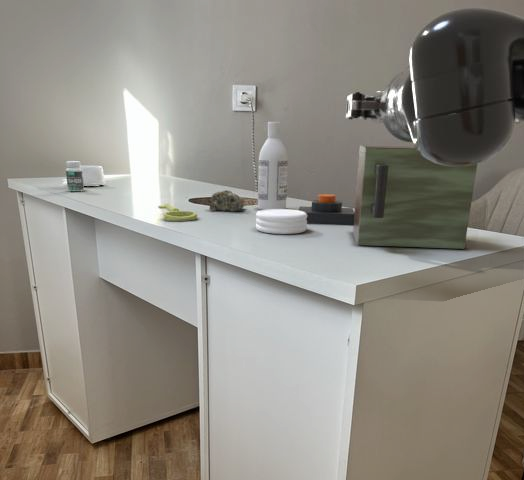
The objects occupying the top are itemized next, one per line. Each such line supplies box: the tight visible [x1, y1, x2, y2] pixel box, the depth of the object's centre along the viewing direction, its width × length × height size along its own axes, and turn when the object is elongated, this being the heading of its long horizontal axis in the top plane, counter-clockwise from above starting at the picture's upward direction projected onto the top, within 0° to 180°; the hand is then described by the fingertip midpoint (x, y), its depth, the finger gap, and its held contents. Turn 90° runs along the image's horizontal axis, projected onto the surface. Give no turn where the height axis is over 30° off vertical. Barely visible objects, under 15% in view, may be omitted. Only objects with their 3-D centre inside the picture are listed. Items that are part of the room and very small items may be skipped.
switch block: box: [298, 199, 355, 226], centre depth 122 cm, size 12×10×4 cm
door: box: [356, 148, 478, 250], centre depth 90 cm, size 6×18×16 cm, turn 85°
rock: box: [208, 189, 245, 212], centre depth 134 cm, size 7×8×4 cm
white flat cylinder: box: [255, 208, 308, 235], centre depth 109 cm, size 10×10×4 cm
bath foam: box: [257, 121, 289, 211], centre depth 134 cm, size 7×7×20 cm
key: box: [157, 203, 198, 222], centre depth 121 cm, size 7×12×2 cm, turn 45°
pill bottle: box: [65, 160, 85, 192], centre depth 165 cm, size 5×5×8 cm
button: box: [318, 193, 336, 203], centre depth 121 cm, size 4×4×2 cm
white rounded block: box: [80, 165, 106, 186], centre depth 182 cm, size 12×10×6 cm
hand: (400, 110), depth 72 cm, fingers open, 8 cm apart
